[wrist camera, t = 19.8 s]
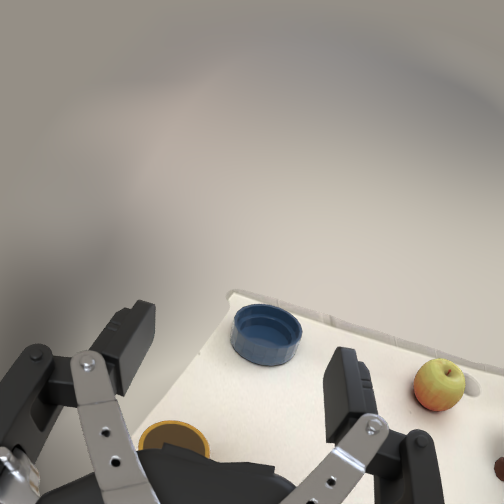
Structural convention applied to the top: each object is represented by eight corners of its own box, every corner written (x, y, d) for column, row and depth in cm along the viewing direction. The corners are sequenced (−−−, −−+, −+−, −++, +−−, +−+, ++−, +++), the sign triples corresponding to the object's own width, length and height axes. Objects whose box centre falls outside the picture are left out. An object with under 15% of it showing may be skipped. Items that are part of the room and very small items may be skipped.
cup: (144, 506, 24) (133, 472, 19) (149, 462, 29) (143, 414, 24) (200, 514, 24) (209, 483, 20) (201, 469, 30) (211, 424, 25)
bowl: (230, 364, 48) (234, 344, 46) (229, 319, 58) (233, 300, 56) (299, 370, 49) (308, 350, 47) (289, 326, 59) (295, 307, 57)
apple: (405, 411, 43) (429, 379, 40) (407, 374, 51) (427, 342, 48) (450, 424, 40) (476, 393, 37) (447, 387, 49) (469, 358, 45)
